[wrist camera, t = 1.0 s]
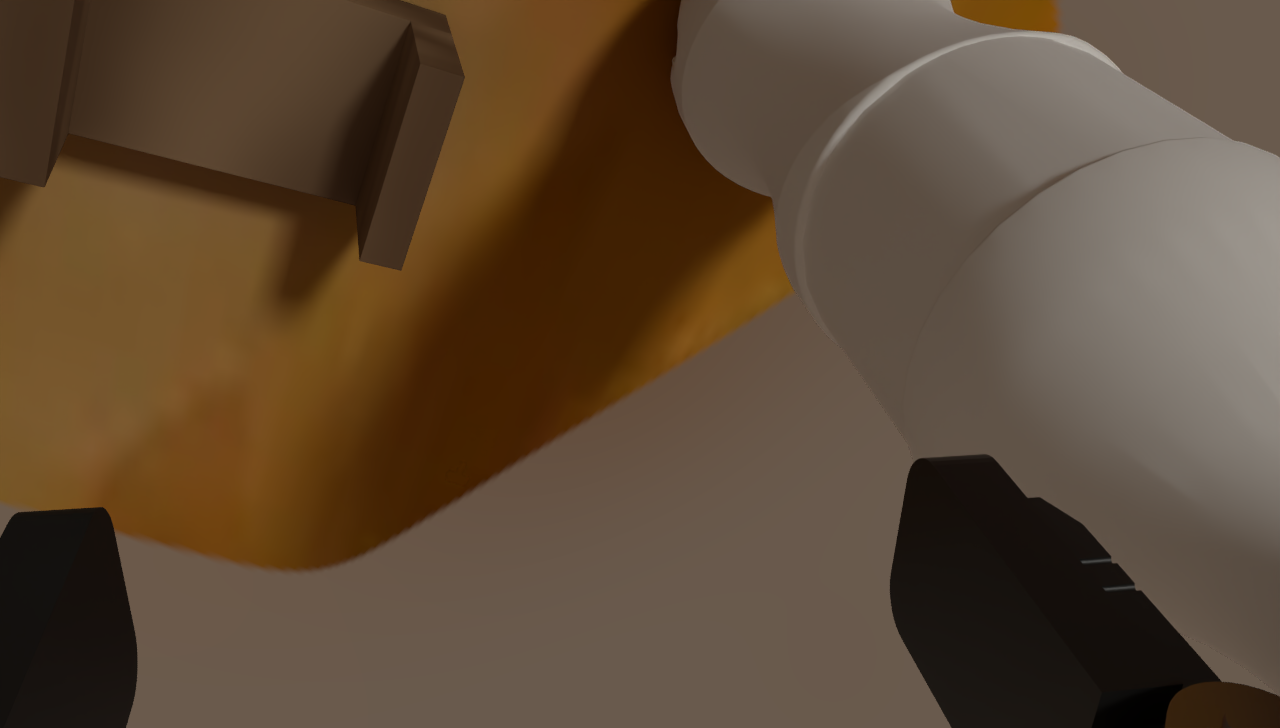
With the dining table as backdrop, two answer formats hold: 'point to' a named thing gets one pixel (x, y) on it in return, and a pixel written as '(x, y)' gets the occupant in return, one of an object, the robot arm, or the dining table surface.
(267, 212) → the dining table surface
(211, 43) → the rail
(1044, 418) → the water bottle
